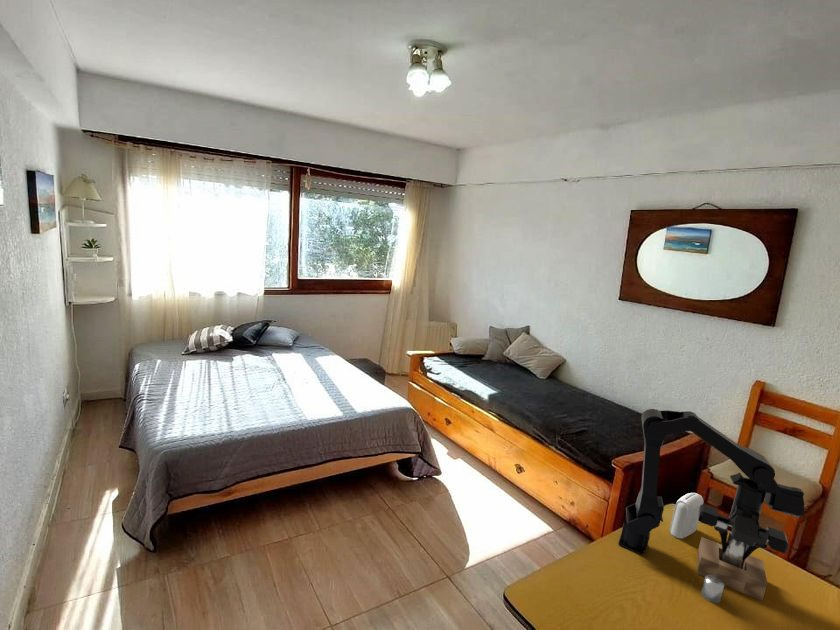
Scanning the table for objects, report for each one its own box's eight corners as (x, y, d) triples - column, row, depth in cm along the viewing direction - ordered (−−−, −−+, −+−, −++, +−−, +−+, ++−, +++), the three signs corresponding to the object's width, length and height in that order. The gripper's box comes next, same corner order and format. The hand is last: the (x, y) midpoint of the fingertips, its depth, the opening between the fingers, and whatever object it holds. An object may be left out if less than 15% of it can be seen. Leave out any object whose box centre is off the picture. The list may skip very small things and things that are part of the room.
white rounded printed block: (683, 522, 140) (692, 487, 138) (698, 531, 137) (707, 494, 134) (666, 532, 134) (675, 495, 132) (681, 541, 131) (690, 503, 128)
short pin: (701, 597, 110) (705, 581, 109) (701, 587, 114) (705, 572, 113) (720, 606, 108) (724, 590, 107) (719, 595, 112) (724, 580, 111)
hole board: (697, 573, 118) (701, 557, 117) (697, 552, 127) (701, 536, 126) (762, 601, 111) (767, 583, 110) (758, 576, 120) (763, 560, 119)
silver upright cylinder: (720, 559, 121) (728, 529, 119) (738, 566, 119) (747, 536, 117) (721, 567, 118) (729, 537, 116) (739, 575, 116) (748, 544, 114)
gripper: (705, 502, 113) (691, 556, 116) (799, 535, 103) (781, 593, 106) (705, 483, 122) (692, 533, 125) (792, 511, 113) (775, 565, 116)
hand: (733, 555), depth 118 cm, fingers closed on silver upright cylinder, 4 cm apart
